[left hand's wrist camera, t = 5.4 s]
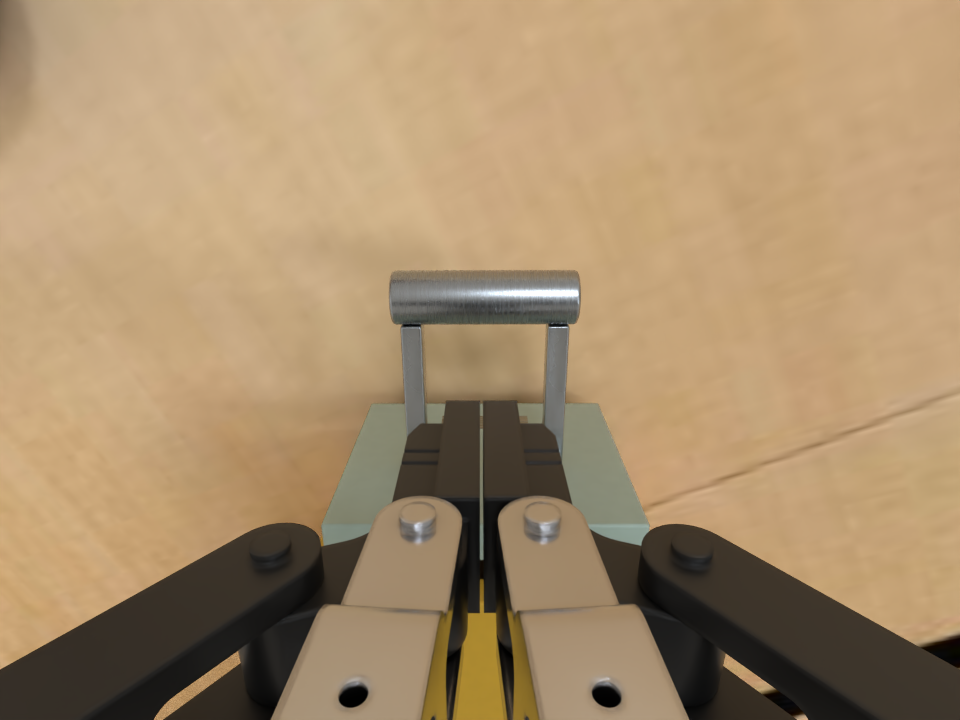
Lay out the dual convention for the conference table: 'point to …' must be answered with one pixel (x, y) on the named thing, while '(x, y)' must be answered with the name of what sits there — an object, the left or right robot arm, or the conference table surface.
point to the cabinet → (479, 668)
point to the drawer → (576, 426)
